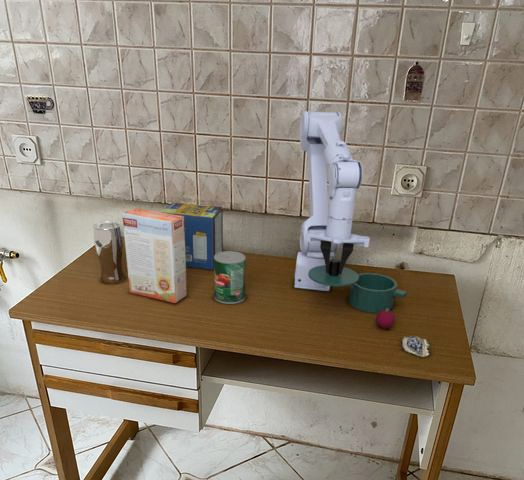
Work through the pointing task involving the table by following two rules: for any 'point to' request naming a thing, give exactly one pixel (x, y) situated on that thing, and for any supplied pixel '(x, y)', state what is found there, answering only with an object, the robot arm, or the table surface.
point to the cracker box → (155, 254)
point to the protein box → (200, 232)
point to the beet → (385, 319)
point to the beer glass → (109, 251)
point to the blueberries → (416, 345)
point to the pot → (374, 293)
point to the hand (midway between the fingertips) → (333, 272)
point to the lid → (333, 275)
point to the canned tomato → (229, 277)
